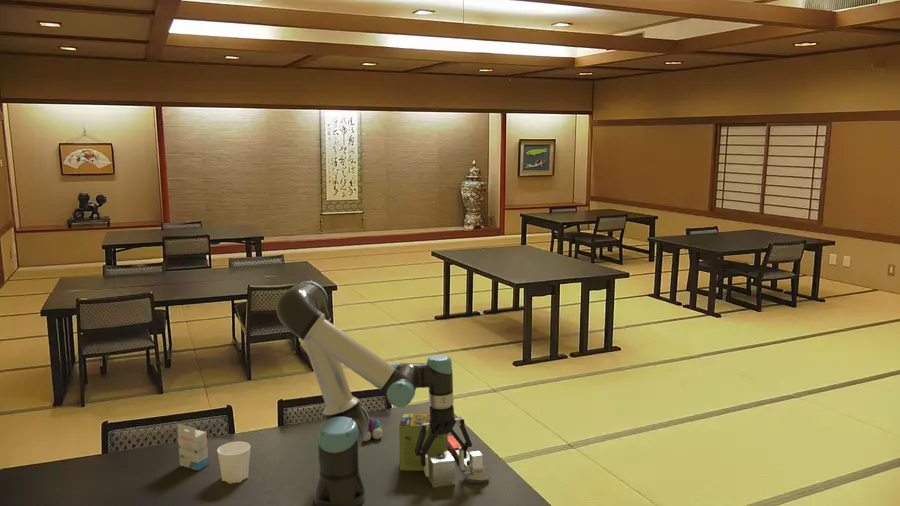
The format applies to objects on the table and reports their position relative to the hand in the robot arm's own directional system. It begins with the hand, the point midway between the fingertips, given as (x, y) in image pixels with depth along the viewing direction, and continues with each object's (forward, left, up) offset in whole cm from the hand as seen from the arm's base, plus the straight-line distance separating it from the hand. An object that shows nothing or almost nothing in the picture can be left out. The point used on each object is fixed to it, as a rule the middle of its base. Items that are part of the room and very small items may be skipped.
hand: (444, 471), depth 216 cm
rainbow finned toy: (-17, +40, -3) cm, 43 cm away
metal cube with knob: (-1, 0, -3) cm, 3 cm away
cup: (-63, +22, -3) cm, 67 cm away
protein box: (-3, +13, -3) cm, 14 cm away
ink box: (-76, +34, -3) cm, 84 cm away
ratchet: (+10, +10, -3) cm, 14 cm away
